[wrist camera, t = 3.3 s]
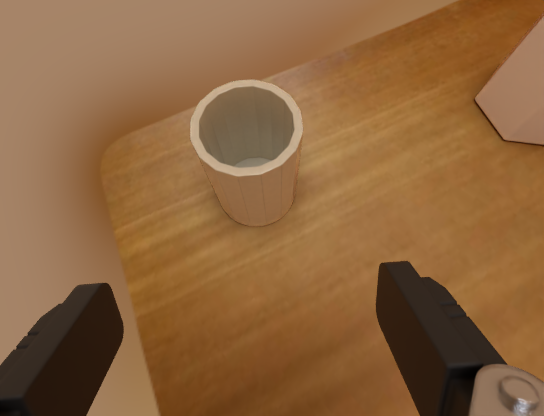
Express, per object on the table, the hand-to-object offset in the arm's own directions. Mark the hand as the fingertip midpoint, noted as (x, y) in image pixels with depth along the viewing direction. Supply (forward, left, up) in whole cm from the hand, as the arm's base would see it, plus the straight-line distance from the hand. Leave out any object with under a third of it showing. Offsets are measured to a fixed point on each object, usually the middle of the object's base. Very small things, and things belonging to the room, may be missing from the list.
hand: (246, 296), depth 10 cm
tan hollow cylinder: (0, +10, -14) cm, 17 cm away
